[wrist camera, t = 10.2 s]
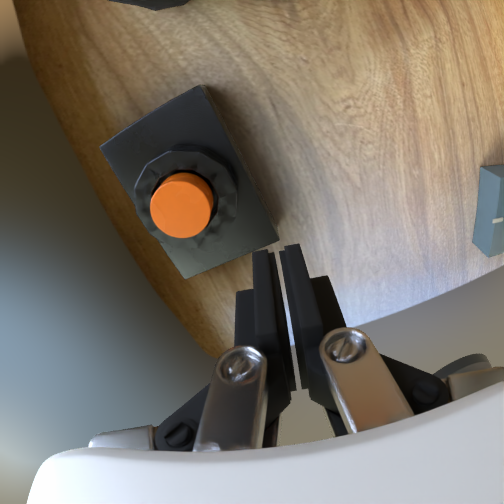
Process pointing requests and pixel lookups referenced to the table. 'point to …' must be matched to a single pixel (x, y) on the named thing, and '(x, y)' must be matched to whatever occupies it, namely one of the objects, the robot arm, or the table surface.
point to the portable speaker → (154, 3)
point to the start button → (182, 205)
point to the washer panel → (490, 211)
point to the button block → (198, 163)
